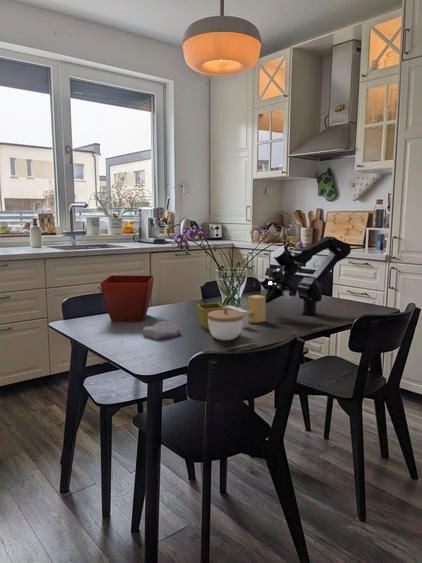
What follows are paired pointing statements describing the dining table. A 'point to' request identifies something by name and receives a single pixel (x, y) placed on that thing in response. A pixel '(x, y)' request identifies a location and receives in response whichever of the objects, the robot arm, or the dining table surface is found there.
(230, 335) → the lidded bowl
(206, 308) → the flower pot
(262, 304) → the block
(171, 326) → the stone block
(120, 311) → the plant pot
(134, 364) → the dining table surface
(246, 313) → the wall
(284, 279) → the robot arm
